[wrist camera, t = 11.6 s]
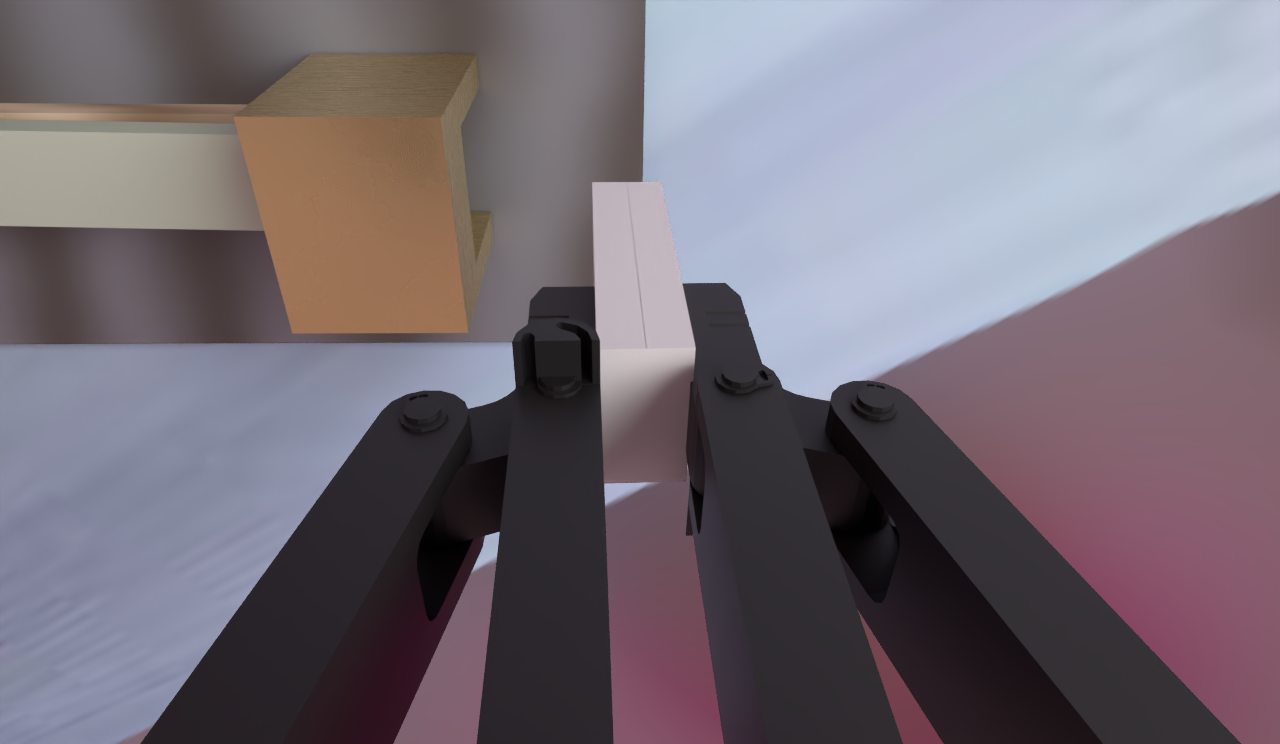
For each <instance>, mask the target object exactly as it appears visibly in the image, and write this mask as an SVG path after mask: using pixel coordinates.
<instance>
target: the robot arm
mask: <svg viewBox="0 0 1280 744" xmlns="http://www.w3.org/2000/svg"><path fill="white" fill-rule="evenodd" d="M592 205H593V276H594V286H581V287H542V288H541V289H540V290H539V291H538V292H537V294H536V295H535V296H534V297H533V298H532V299H531V300H530V307H529V319H528V325H526V326H525V327H523V328H522V329H521V330H519V331H518V332H517V333H516V335H515V337H514V339H513V341H512V346H513V358H514V370H515V382H516V389H515V390H514V391H513V392H511V393H510V394H509V395H507V396H506V397H504V398H502V399H500V400H498V401H496V402H493V403H490V404H487V405H483V406H479V407H475V408H470V409H468V408H467V406H466V403H465V402H464V401H463V400H461V399H460V398H459V397H457V396H456V395H454V394H450V393H447V392H443V391H420V392H416V393H411V394H407V395H405V396H403V397H401V398H398V399H396V400H394V401H392V402H391V403H390V404H389V405H388V406H387V407H386V408H385V409H384V410H382V412H381V413H380V414H379V416H378V417H377V418H376V420H375V421H374V423H373V424H372V425H371V427H370V428H369V429H368V431H367V432H366V434H365V435H364V436H363V438H362V439H361V440H360V442H359V443H358V445H357V446H356V447H355V449H354V450H353V451H352V453H351V454H350V456H349V457H348V458H347V460H346V461H345V463H344V464H343V465H342V467H341V468H340V469H339V471H338V472H337V474H336V475H335V476H334V478H333V479H332V480H331V482H330V483H329V485H328V486H327V487H326V489H325V490H324V491H323V493H322V494H321V496H320V497H319V498H318V500H317V501H316V503H315V504H314V505H313V507H312V508H311V509H310V511H309V512H308V514H307V515H306V516H305V518H304V519H303V520H302V522H301V523H300V525H299V526H298V527H297V529H296V530H295V531H294V533H293V534H292V536H291V537H290V538H289V540H288V541H287V542H286V544H285V545H284V547H283V548H282V549H281V551H280V552H279V554H278V555H277V556H276V558H275V559H274V560H273V562H272V563H271V565H270V566H269V567H268V569H267V570H266V571H265V573H264V574H263V576H262V577H261V578H260V580H259V581H258V582H257V584H256V585H255V587H254V588H253V589H252V591H251V592H250V594H249V595H248V596H247V598H246V599H245V600H244V602H243V603H242V605H241V606H240V607H239V609H238V610H237V611H236V613H235V614H234V616H233V617H232V618H231V620H230V621H229V622H228V624H227V625H226V627H225V628H224V629H223V631H222V632H221V634H220V635H219V636H218V638H217V639H216V640H215V642H214V643H213V645H212V646H211V647H210V649H209V650H208V651H207V653H206V654H205V656H204V657H203V658H202V660H201V661H200V662H199V664H198V665H197V667H196V668H195V669H194V671H193V672H192V673H191V675H190V676H189V678H188V679H187V680H186V682H185V683H184V685H183V686H182V687H181V689H180V690H179V691H178V693H177V694H176V696H175V697H174V698H173V700H172V701H171V702H170V704H169V705H168V707H167V708H166V709H165V711H164V712H163V713H162V715H161V716H160V718H159V719H158V720H157V722H156V723H155V725H154V726H153V727H152V729H151V730H150V731H149V733H148V734H147V736H146V737H145V738H144V740H143V741H142V742H141V744H393V743H394V740H395V739H396V736H397V734H398V732H399V730H400V728H401V725H402V723H403V721H404V719H405V717H406V714H407V712H408V710H409V708H410V705H411V703H412V701H413V699H414V697H415V694H416V692H417V690H418V688H419V686H420V683H421V681H422V679H423V677H424V675H425V672H426V670H427V668H428V666H429V664H430V662H431V659H432V657H433V655H434V653H435V651H436V648H437V646H438V644H439V642H440V639H441V637H442V635H443V633H444V631H445V629H446V626H447V624H448V622H449V620H450V618H451V615H452V613H453V611H454V609H455V607H456V604H457V602H458V600H459V598H460V596H461V593H462V591H463V589H464V587H465V585H466V582H467V580H468V578H469V576H470V574H471V571H472V569H473V567H474V565H475V563H476V560H477V558H478V556H479V554H480V552H481V549H482V547H483V542H484V537H485V535H489V534H492V533H496V532H499V531H500V536H499V545H498V554H497V563H496V572H495V582H494V592H493V601H492V609H491V618H490V627H489V637H488V645H487V654H486V664H485V673H484V682H483V691H482V700H481V709H480V719H479V728H478V737H477V744H613V717H612V690H611V663H610V634H609V609H608V581H607V580H608V579H607V553H606V524H605V496H604V483H640V482H677V481H678V482H680V481H686V475H687V463H688V469H689V475H690V489H689V501H688V516H687V527H686V535H693V537H694V545H695V551H696V558H697V565H698V572H699V578H700V585H701V592H702V599H703V605H704V611H705V619H706V626H707V632H708V638H709V646H710V653H711V659H712V666H713V672H714V679H715V686H716V693H717V699H718V706H719V713H720V719H721V727H722V733H723V740H724V744H903V743H902V740H901V737H900V734H899V731H898V728H897V725H896V722H895V719H894V716H893V713H892V710H891V707H890V704H889V701H888V699H887V696H886V692H885V690H884V687H883V684H882V681H881V678H880V675H879V672H878V669H877V666H876V663H875V660H874V657H873V654H872V651H871V648H870V645H869V642H868V639H867V637H866V633H865V630H864V628H863V625H862V622H861V619H860V616H859V613H858V611H859V612H860V614H861V615H862V617H863V618H864V620H865V621H866V623H867V624H868V626H869V628H870V629H871V631H872V632H873V634H874V635H875V637H876V639H877V640H878V642H879V643H880V645H881V646H882V648H883V649H884V651H885V653H886V654H887V656H888V657H889V659H890V661H891V662H892V664H893V665H894V667H895V668H896V670H897V671H898V673H899V675H900V676H901V678H902V679H903V681H904V682H905V684H906V686H907V687H908V688H909V690H910V692H911V693H912V695H913V696H914V698H915V700H916V701H917V703H918V704H919V706H920V707H921V709H922V711H923V712H924V714H925V715H926V717H927V718H928V720H929V721H930V723H931V724H932V726H933V728H934V729H935V731H936V732H937V734H938V736H939V737H940V739H941V740H942V741H943V743H944V744H1241V743H1240V742H1239V741H1238V740H1237V739H1236V738H1235V737H1234V736H1233V735H1232V734H1231V733H1230V732H1229V731H1228V729H1227V728H1226V727H1225V726H1224V725H1223V724H1222V723H1221V722H1220V721H1219V720H1218V719H1217V718H1216V717H1215V716H1214V715H1213V714H1212V713H1211V712H1210V711H1209V710H1208V709H1207V708H1206V706H1205V705H1204V704H1203V703H1202V702H1201V701H1200V700H1199V699H1198V698H1197V697H1196V696H1195V695H1194V694H1193V693H1192V692H1191V691H1190V690H1189V689H1188V688H1187V687H1186V686H1185V684H1184V683H1183V682H1181V680H1180V679H1179V678H1178V677H1177V676H1176V675H1175V674H1174V673H1173V672H1172V671H1171V670H1170V669H1169V668H1168V667H1167V666H1166V665H1165V664H1164V663H1163V661H1162V660H1161V659H1160V658H1159V657H1158V656H1157V655H1156V654H1155V653H1154V652H1153V651H1152V650H1151V649H1150V648H1149V647H1148V646H1147V645H1146V644H1145V643H1144V642H1143V640H1142V639H1140V637H1139V636H1138V635H1137V634H1136V633H1135V632H1134V631H1133V630H1132V629H1131V628H1130V627H1129V626H1128V625H1127V624H1126V623H1125V622H1124V621H1123V619H1122V618H1121V617H1120V616H1119V615H1118V614H1117V613H1116V612H1115V611H1114V610H1113V609H1112V608H1111V607H1110V606H1109V605H1108V604H1107V603H1106V602H1105V601H1104V600H1103V599H1102V598H1101V596H1099V594H1098V593H1097V592H1096V591H1095V590H1094V589H1093V588H1092V587H1091V586H1090V585H1089V584H1088V583H1087V582H1086V581H1085V580H1084V579H1083V578H1082V577H1081V576H1080V574H1079V573H1078V572H1077V571H1076V570H1075V569H1074V568H1073V567H1072V566H1071V565H1070V564H1069V563H1068V562H1067V561H1066V560H1065V559H1064V558H1063V557H1062V556H1061V555H1060V554H1059V552H1058V551H1057V550H1056V549H1055V548H1054V547H1053V546H1052V545H1051V544H1050V543H1049V542H1048V541H1047V540H1046V539H1045V538H1044V537H1043V536H1042V535H1041V534H1040V533H1039V532H1038V531H1037V529H1036V528H1035V527H1034V526H1033V525H1032V524H1031V523H1030V522H1029V521H1028V520H1027V519H1026V518H1025V517H1024V516H1023V515H1022V514H1021V513H1020V512H1019V511H1018V510H1017V508H1015V506H1013V504H1012V503H1011V502H1010V501H1009V500H1008V499H1007V498H1006V497H1005V496H1004V495H1003V494H1002V493H1001V492H1000V491H999V490H998V489H997V488H996V486H995V485H994V484H992V482H991V481H990V480H989V479H988V478H987V477H986V476H985V475H984V474H983V473H982V472H981V471H980V470H979V469H978V468H977V467H976V466H975V464H974V463H972V461H970V459H969V458H968V457H967V456H966V455H965V454H964V453H963V452H962V451H961V450H960V449H959V448H958V447H957V446H956V445H955V444H954V443H953V441H952V440H951V439H950V438H949V437H948V436H947V435H946V434H945V433H944V432H943V431H942V430H941V429H940V428H939V427H938V426H937V425H936V424H935V423H934V422H933V421H932V419H931V418H930V417H929V416H928V415H926V413H925V412H924V411H923V410H922V409H921V408H920V407H919V406H918V405H917V404H916V403H915V402H914V401H913V400H912V399H911V398H910V397H909V396H907V395H906V394H905V393H903V392H902V391H901V390H899V389H896V388H894V387H892V386H889V385H887V384H884V383H879V382H874V381H852V382H849V383H846V384H843V385H840V386H839V387H838V388H837V389H836V390H835V391H833V392H832V396H831V401H825V400H819V399H814V398H809V397H805V396H801V395H797V394H794V393H791V392H789V391H787V390H784V389H783V388H782V385H781V382H780V380H779V379H778V377H777V376H776V374H775V373H774V371H772V370H771V369H769V368H768V367H766V366H765V365H763V364H762V362H761V359H760V356H759V353H758V350H757V347H756V344H755V340H754V337H753V334H752V331H751V328H750V327H749V322H748V319H747V316H746V314H745V309H744V306H743V303H742V300H741V297H740V296H739V295H738V294H737V293H736V292H735V291H734V290H733V289H731V288H730V287H729V286H728V285H727V284H726V283H688V284H682V280H681V275H680V270H679V265H678V261H677V256H676V251H675V246H674V241H673V237H672V232H671V227H670V222H669V218H668V213H667V208H666V203H665V198H664V194H663V189H662V184H661V182H592ZM857 609H858V610H857Z"/></svg>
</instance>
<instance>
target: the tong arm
mask: <svg viewBox="0 0 1280 744" xmlns="http://www.w3.org/2000/svg"><path fill="white" fill-rule="evenodd" d="M0 226H33V227H87V228H141V229H196V230H250V231H264V227H263V224H262V220H261V216H260V213H259V209H258V205H257V202H256V198H255V194H254V191H253V187H252V183H251V180H250V176H249V172H248V168H247V165H246V161H245V157H244V154H243V150H242V146H241V143H240V139H239V135H238V132H237V128H236V124H227V123H172V122H117V121H62V120H8V119H0Z"/></svg>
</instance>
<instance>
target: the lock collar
mask: <svg viewBox="0 0 1280 744" xmlns="http://www.w3.org/2000/svg"><path fill="white" fill-rule="evenodd" d="M478 89H479V79H478V69H477V59H476V54H355V53H312V54H310V55H309V56H308V57H307V58H306V59H304V60H303V61H302V62H301V63H299V64H298V65H297V66H296V67H294V68H293V69H292V70H291V71H289V72H288V73H287V74H286V75H284V76H283V77H282V78H281V79H279V80H278V81H277V82H276V83H275V84H273V85H272V86H271V87H270V88H268V89H267V90H266V91H265V92H263V93H262V94H261V95H260V96H258V97H257V98H256V99H255V100H253V101H252V102H251V103H250V104H248V105H247V106H246V107H245V108H243V109H242V110H241V111H240V112H239V113H237V114H236V115H235V116H234V121H235V124H236V128H237V132H238V135H239V139H240V143H241V146H242V150H243V154H244V157H245V161H246V165H247V168H248V172H249V176H250V180H251V183H252V187H253V191H254V194H255V198H256V202H257V205H258V209H259V213H260V216H261V220H262V224H263V227H264V231H265V235H266V238H267V242H268V246H269V249H270V253H271V257H272V260H273V264H274V268H275V272H276V275H277V279H278V283H279V286H280V290H281V294H282V297H283V301H284V305H285V308H286V312H287V316H288V319H289V323H290V327H291V330H292V334H307V333H468V331H469V328H470V324H471V320H472V317H473V313H474V309H475V306H476V302H477V298H478V295H479V291H480V287H481V284H482V280H483V276H484V273H485V269H486V265H487V262H488V258H489V254H490V251H491V247H492V243H493V240H494V235H493V224H492V214H491V212H470V207H469V198H468V189H467V180H466V171H465V162H464V154H463V145H462V136H461V125H462V123H463V121H464V119H465V116H466V114H467V112H468V110H469V108H470V106H471V104H472V102H473V100H474V98H475V95H476V93H477V91H478Z"/></svg>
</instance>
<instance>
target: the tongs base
mask: <svg viewBox="0 0 1280 744" xmlns="http://www.w3.org/2000/svg"><path fill="white" fill-rule="evenodd" d="M645 1H646V0H0V119H8V120H62V121H117V122H172V123H227V124H235V121H234V116H235V115H236V114H237V113H239V112H240V111H241V110H242V109H243V108H245V107H246V106H247V105H248V104H250V103H251V102H252V101H253V100H255V99H256V98H257V97H258V96H260V95H261V94H262V93H263V92H265V91H266V90H267V89H268V88H270V87H271V86H272V85H273V84H275V83H276V82H277V81H278V80H279V79H281V78H282V77H283V76H284V75H286V74H287V73H288V72H289V71H291V70H292V69H293V68H294V67H296V66H297V65H298V64H299V63H301V62H302V61H303V60H304V59H306V58H307V57H308V56H309V55H310V54H312V53H355V54H476V59H477V69H478V79H479V89H478V91H477V93H476V95H475V98H474V100H473V102H472V104H471V106H470V108H469V110H468V112H467V114H466V116H465V119H464V121H463V123H462V125H461V136H462V145H463V154H464V162H465V171H466V180H467V189H468V198H469V207H470V212H491V214H492V224H493V235H494V240H493V243H492V247H491V251H490V254H489V258H488V262H487V265H486V269H485V273H484V276H483V280H482V284H481V287H480V291H479V295H478V298H477V302H476V306H475V309H474V313H473V317H472V320H471V324H470V328H469V331H468V333H307V334H292V330H291V327H290V323H289V319H288V316H287V312H286V308H285V305H284V301H283V297H282V294H281V290H280V286H279V283H278V279H277V275H276V272H275V268H274V264H273V260H272V257H271V253H270V249H269V246H268V242H267V238H266V235H265V231H250V230H196V229H141V228H87V227H33V226H0V344H151V343H386V342H512V341H513V339H514V337H515V335H516V333H517V332H518V331H519V330H521V329H522V328H523V327H525V326H526V325H528V319H529V307H530V300H531V299H532V298H533V297H534V296H535V295H536V294H537V292H538V291H539V290H540V289H541V288H542V287H581V286H594V276H593V205H592V182H642V177H643V119H644V60H645Z"/></svg>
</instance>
